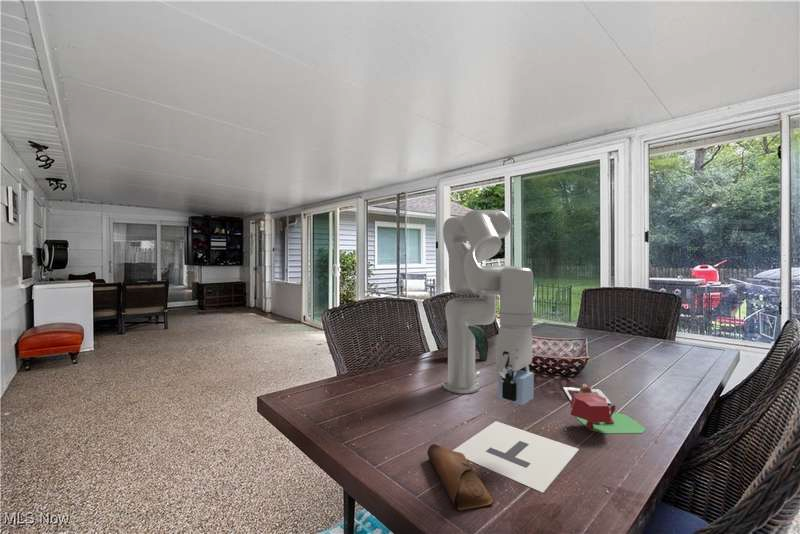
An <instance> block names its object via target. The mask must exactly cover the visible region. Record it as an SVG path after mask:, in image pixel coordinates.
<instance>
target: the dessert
mask: <svg viewBox="0 0 800 534" xmlns="http://www.w3.org/2000/svg"><path fill="white" fill-rule="evenodd" d="M562 388H563V390H564V392H565V393H566V395H567V397H568V398H569V400H570V401H571V400H572V395H571V394H570V393H569V391H572V392H573V391H575V392H578V393H596V394H597V395H599V396H601V397H604V398H606V403H607V404H608V405H611V404H612V401H610V399H609V398H608V397H607V396H606V395H605V394H604V393H603V392H602V390H601V389H594V388H591V387H590V386H589V385H588V384H586V383H583V384H582V386H580V387H566V386H563V387H562Z"/></svg>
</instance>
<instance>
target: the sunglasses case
mask: <svg viewBox="0 0 800 534" xmlns="http://www.w3.org/2000/svg"><path fill="white" fill-rule="evenodd" d="M427 456H428V459H429V460H430V462H431V464H432V466H433V467H434V469H435V472H436V473H437V475H438V477H439V479H440V482H442V485H443V487H444V489H445V490H446V492H447V495H448V497H449V499H450V501H451V503H452V505H453V506H454V507H455V508H456V509H457V510H458V511H467V510H468V511H469V510H475V509H480V508H484V507H489V506H491V505H493V504H494V500H493V497H492V496H491V494H490V492H489V491H488V489H487V488H486V487H485V484H484V483H483V482H482V480H481V478H480V476H478V474H477V473H476V471H475V470H474V469H473V466H472V465H471V464H470V463H469V460H467V459H466V457H465V456H464V454H463V453H460V452H456V451H453V449H447V448H446V447H443V446H441V445H438V444H436V443H432V444H431V445H430V446H429V447H428V449H427Z"/></svg>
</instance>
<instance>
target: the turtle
mask: <svg viewBox="0 0 800 534" xmlns="http://www.w3.org/2000/svg"><path fill="white" fill-rule="evenodd" d="M571 397H572V400H570V402H571V404H570V407H571V412H570V416H573V417H575V418H576V420H578V421H579V422H580V423H581V424H583V426H585V428H587V429H588V430H589V431H592V432H595V433H596V432H597V433H599V434H602V435H603V434H605V435H607V434H608V435H609V434H612V435H613V434H614V435H617V434H618V435H620V434H623V435H624V434H627V435H628V434H629V435H630V434H631V435H632V434H635V435H636V434H644V433H645V431H647V428H646V427H644V426H643V425H642V424H640V423H639V422H637V421H636V420H635V419H633V418H631V417H630V416H628V415H627V414H624V413H620V412H616V411H615V410H616V405H611V406H610V407H609V404H607V403H606V398H604V397H601V396H600V395H599V394H598V393H595V392H592V393H579V392H577V393H575V392H574V393H571Z"/></svg>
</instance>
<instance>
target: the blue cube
mask: <svg viewBox="0 0 800 534" xmlns="http://www.w3.org/2000/svg"><path fill="white" fill-rule="evenodd" d="M507 368H508V369H512V367H507ZM507 373H509V374H510V376H511V375H512V372H508V371H507ZM534 373H535V372H533V371H530V372H527V371H523V370H518V371H517V372H516V378H515V383H516V401H511V400H507V399H504V398H503V397H502V381H501V379H502V378H501V376H500V374H499V372H498V375H497V389H498V390H497V399H499V400H502V401H505V402H509V403H513V404H516V405H520V406H524V405H525V404H527V403H529V402H530V401H531V400H533V399H534V397H535V396H534V391H535V390H534V389H535V388H534V387H535V381H534V378H535V377H534V375H535V374H534Z"/></svg>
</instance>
